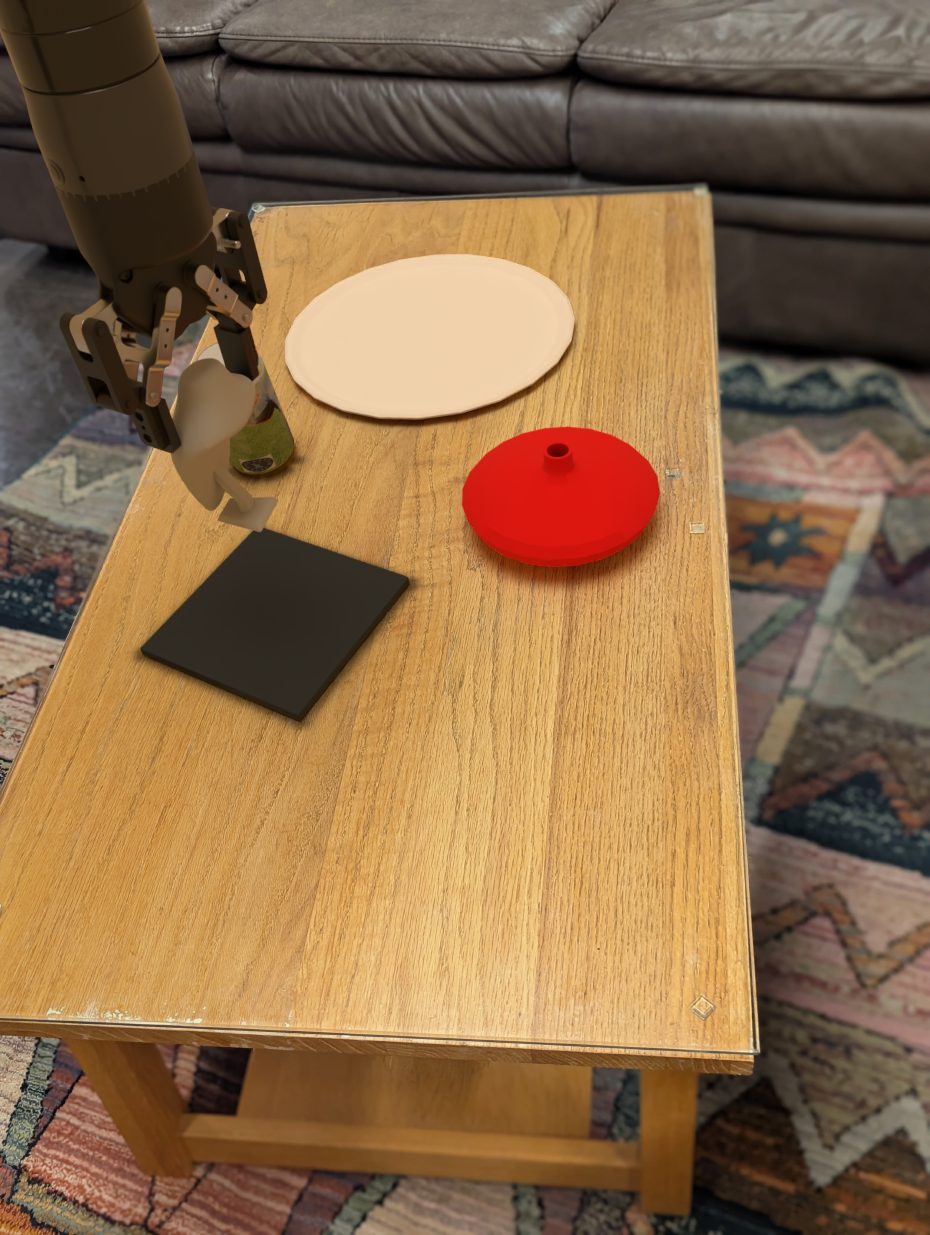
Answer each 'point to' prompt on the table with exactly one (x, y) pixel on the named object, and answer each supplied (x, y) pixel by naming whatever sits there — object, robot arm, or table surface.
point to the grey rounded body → (215, 441)
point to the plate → (429, 336)
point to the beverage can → (259, 426)
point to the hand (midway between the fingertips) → (206, 410)
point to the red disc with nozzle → (560, 496)
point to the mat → (276, 621)
